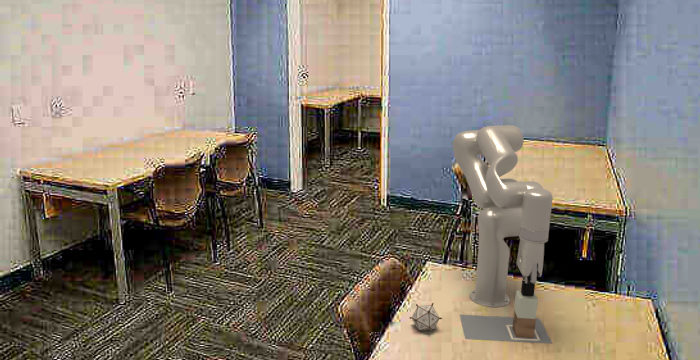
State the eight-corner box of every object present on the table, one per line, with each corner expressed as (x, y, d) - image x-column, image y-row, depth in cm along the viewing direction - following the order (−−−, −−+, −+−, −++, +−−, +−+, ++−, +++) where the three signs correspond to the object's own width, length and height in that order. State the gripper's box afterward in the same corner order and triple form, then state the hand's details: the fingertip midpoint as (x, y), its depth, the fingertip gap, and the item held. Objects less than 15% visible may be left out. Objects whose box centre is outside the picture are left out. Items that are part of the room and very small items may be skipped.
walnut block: (512, 327, 168) (514, 309, 167) (529, 328, 168) (531, 310, 166) (515, 336, 163) (517, 317, 162) (533, 337, 163) (535, 318, 161)
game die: (428, 344, 167) (436, 331, 159) (402, 330, 169) (409, 315, 161) (440, 320, 172) (449, 305, 164) (415, 306, 174) (422, 291, 166)
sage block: (514, 309, 167) (516, 290, 165) (531, 310, 166) (533, 291, 165) (517, 317, 162) (519, 298, 160) (535, 318, 161) (538, 299, 160)
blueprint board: (459, 316, 176) (459, 314, 175) (539, 320, 174) (539, 318, 174) (465, 341, 162) (465, 338, 162) (552, 346, 161) (552, 343, 160)
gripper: (514, 223, 165) (508, 282, 170) (526, 243, 150) (519, 306, 155) (540, 224, 164) (534, 283, 169) (555, 244, 150) (547, 308, 155)
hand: (527, 294), depth 162 cm, fingers closed
